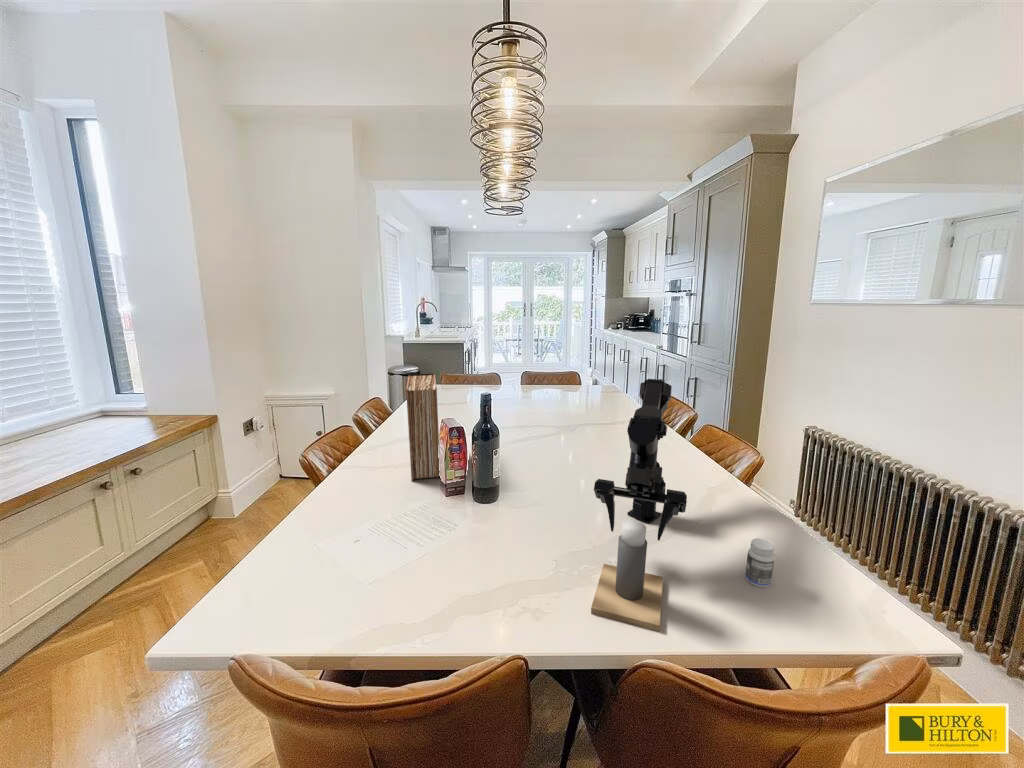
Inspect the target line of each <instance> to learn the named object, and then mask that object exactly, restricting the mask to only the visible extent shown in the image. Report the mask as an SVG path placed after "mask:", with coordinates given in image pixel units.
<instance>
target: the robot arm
mask: <svg viewBox="0 0 1024 768" xmlns="http://www.w3.org/2000/svg"><path fill="white" fill-rule="evenodd" d="M639 385H640V386H639V395H638V396H639V399H641V406H640V407H639V408H637V409H635V411H634V414H633V417H631V418H630V419H629V422H628V425H627V430H626V431H627V435H628V440H629V441H628V442H629V449H630V456H629V464H628V467H627V471H626V473H625V482H624V485H625V487H619V486H615V481H614V480H608V479H602V478H597V479H596V480H595V482H594V487H593V492H594V495H595V498H596V499H599V500H600V502H601V503H602V504H605V505H606V509H607V514H608V520H609V526H610V531H611V532H612V533H613V532H614V530H615V517H616V514H615V513H616V512H615V510H616V501H615V497H620V498H621V497H622V498H627V499H632V500H633V501H632V509H631V510H629V511H627V515H628V516H629V517H632V518H635V519H637V520H639V521H640V522H642V523H643V522H644V523H646V524H650V523H652V522H653V521H655V520H657V518H659V517H661V518H660V521H659V526H658V531H657V541H660V540H661V538H662V535H663V533H664V532H665V530H666V527H667V525H668V523H669V522H670V520H671V519H672V517H673V516H679V513H682V514H684V513H686V508H687V502H688V501H687V499H688V495H687V494H686V492H685V491H681V490H676V489H675V490H674V489H668V488H667V489H666V482H665V480H664V477H663V475H662V474H663V467H662V466H661V465H660V463H659V462H658V451H659V450H658V449H659V447H658V445H659V441H660V440H661V439H664V437H666V436H667V433H668V425H666V422H665V420H663V414H664V412H666V410H667V409H668V408H669V407H668V404H669V402H671V400H672V388H673V387H672V385H671V384H669V383H666V382H665V380H663V379H658V378H657V379H656V378H646V379H645V380H644V381H643V382H640V383H639ZM657 503H658V504H663V506H662V507H663V508H662V512H659V511H657Z"/></svg>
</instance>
